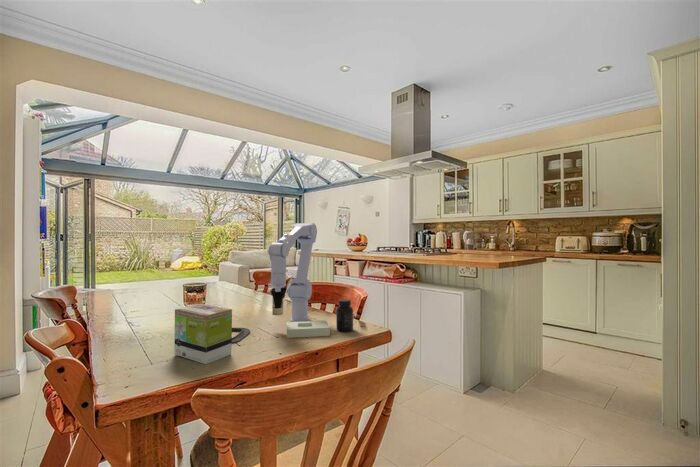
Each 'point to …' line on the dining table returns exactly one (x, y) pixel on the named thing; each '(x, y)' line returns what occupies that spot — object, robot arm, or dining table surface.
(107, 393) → the dining table surface
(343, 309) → the supplement bottle
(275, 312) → the peg
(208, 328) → the tea box
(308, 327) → the board
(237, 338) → the c clamp
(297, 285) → the robot arm
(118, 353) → the dining table surface
